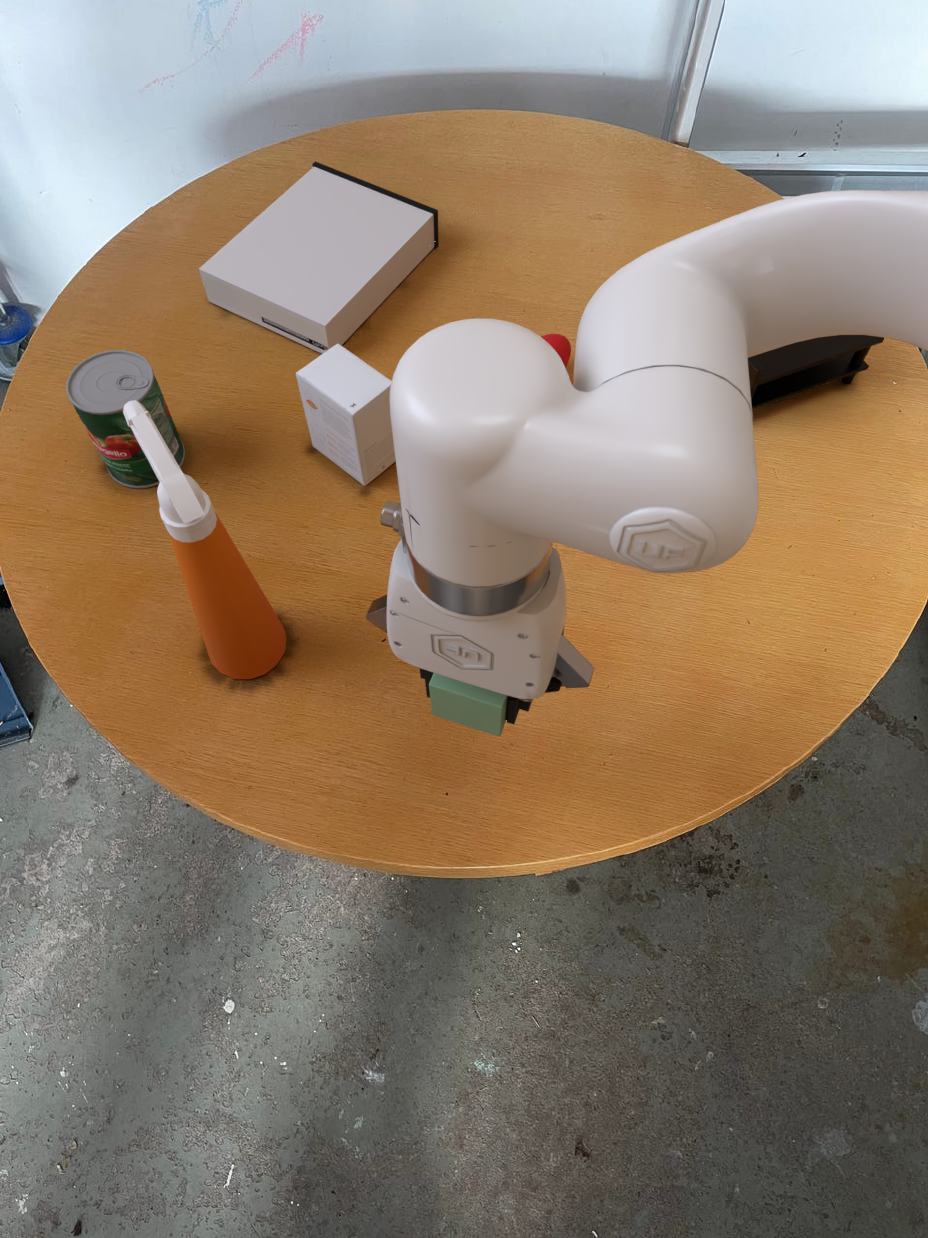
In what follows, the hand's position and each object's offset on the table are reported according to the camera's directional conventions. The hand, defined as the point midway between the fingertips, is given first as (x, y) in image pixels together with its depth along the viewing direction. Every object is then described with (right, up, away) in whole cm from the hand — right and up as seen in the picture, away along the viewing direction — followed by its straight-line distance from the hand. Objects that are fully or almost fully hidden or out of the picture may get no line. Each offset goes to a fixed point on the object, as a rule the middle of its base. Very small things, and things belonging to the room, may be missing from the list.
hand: (477, 691), depth 60 cm
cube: (0, 0, +1) cm, 1 cm away
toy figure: (+5, +29, +33) cm, 44 cm away
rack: (+32, +33, +35) cm, 58 cm away
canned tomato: (-34, +21, +29) cm, 49 cm away
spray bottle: (-21, +4, +19) cm, 29 cm away
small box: (-12, +22, +29) cm, 39 cm away
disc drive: (-17, +46, +43) cm, 65 cm away
